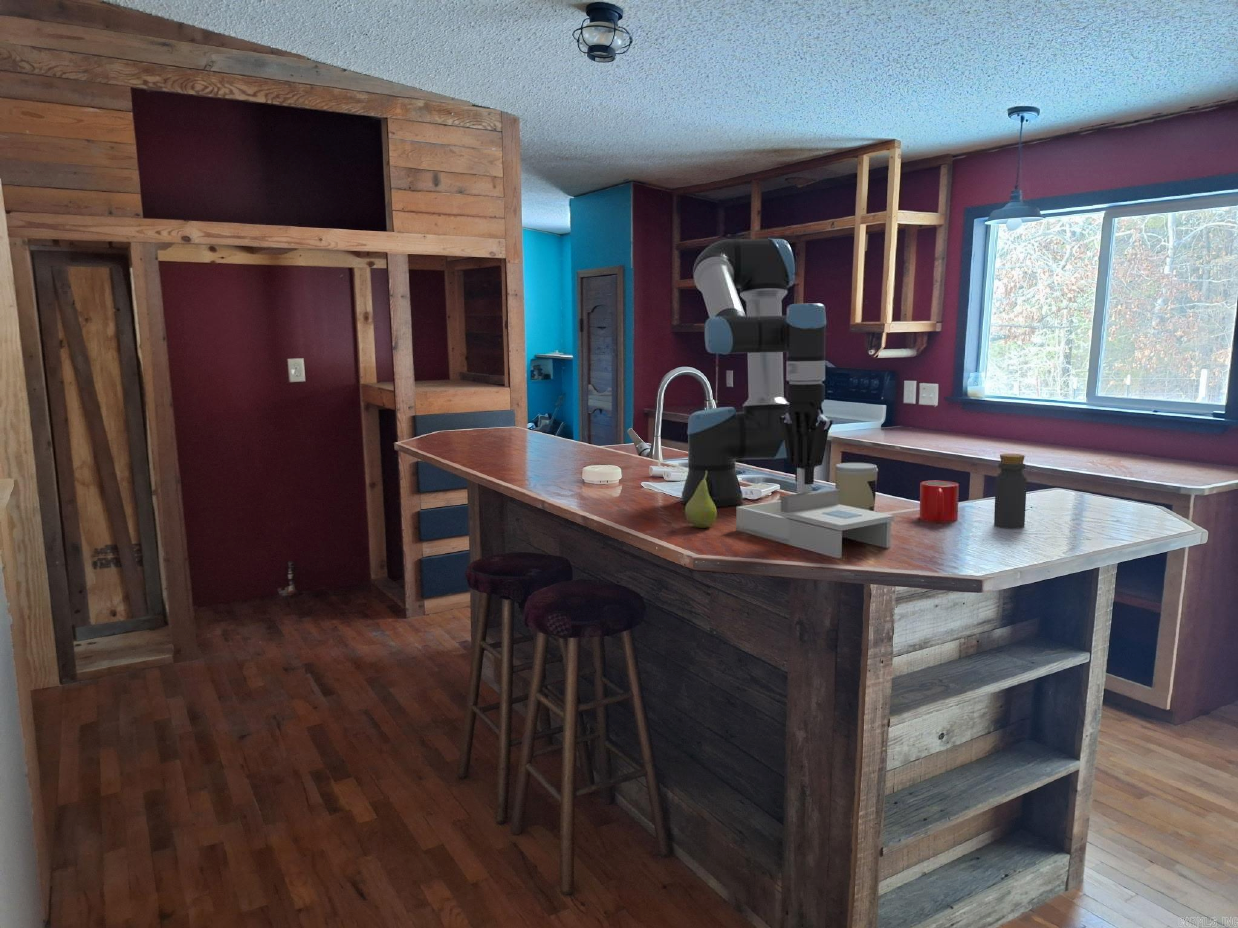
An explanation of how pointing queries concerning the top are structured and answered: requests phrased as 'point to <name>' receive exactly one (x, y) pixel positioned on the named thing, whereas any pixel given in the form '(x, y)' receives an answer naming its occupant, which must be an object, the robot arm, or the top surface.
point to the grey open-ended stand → (805, 530)
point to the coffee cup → (856, 484)
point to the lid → (828, 511)
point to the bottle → (1010, 492)
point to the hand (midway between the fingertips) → (804, 499)
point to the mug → (939, 501)
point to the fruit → (701, 507)
